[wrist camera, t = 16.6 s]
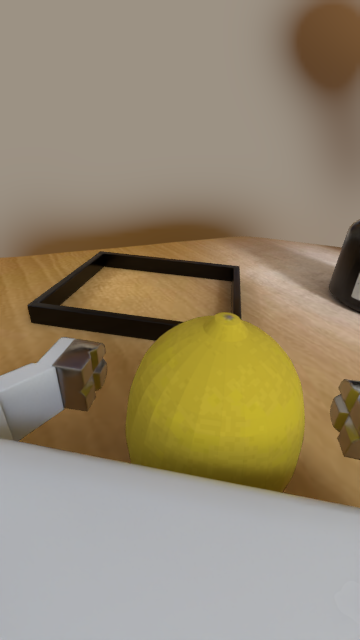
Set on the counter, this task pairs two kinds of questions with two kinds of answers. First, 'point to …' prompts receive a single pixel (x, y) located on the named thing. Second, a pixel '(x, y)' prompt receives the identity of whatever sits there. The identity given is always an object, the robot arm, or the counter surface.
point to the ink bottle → (348, 270)
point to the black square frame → (115, 323)
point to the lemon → (217, 404)
